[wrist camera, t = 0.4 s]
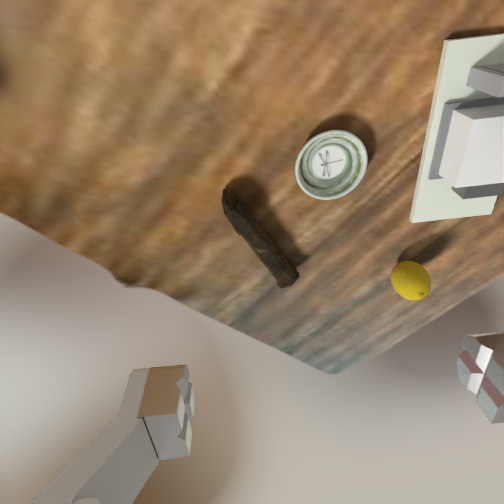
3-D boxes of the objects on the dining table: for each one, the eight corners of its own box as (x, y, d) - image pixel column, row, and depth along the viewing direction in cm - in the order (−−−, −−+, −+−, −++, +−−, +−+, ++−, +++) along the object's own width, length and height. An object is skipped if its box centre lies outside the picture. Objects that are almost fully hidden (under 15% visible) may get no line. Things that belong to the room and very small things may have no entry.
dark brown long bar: (298, 267, 59) (302, 285, 55) (277, 276, 60) (280, 295, 56) (240, 177, 49) (241, 192, 45) (216, 191, 50) (215, 206, 46)
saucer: (370, 174, 49) (376, 182, 47) (307, 202, 52) (310, 210, 50) (351, 111, 44) (357, 116, 42) (281, 145, 46) (284, 151, 44)
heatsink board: (444, 40, 40) (480, 46, 34) (550, 27, 39) (605, 31, 34) (409, 219, 54) (430, 245, 48) (487, 210, 54) (518, 236, 48)
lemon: (384, 280, 61) (403, 313, 55) (383, 256, 58) (402, 288, 51) (416, 272, 60) (439, 305, 54) (417, 248, 57) (440, 279, 51)
